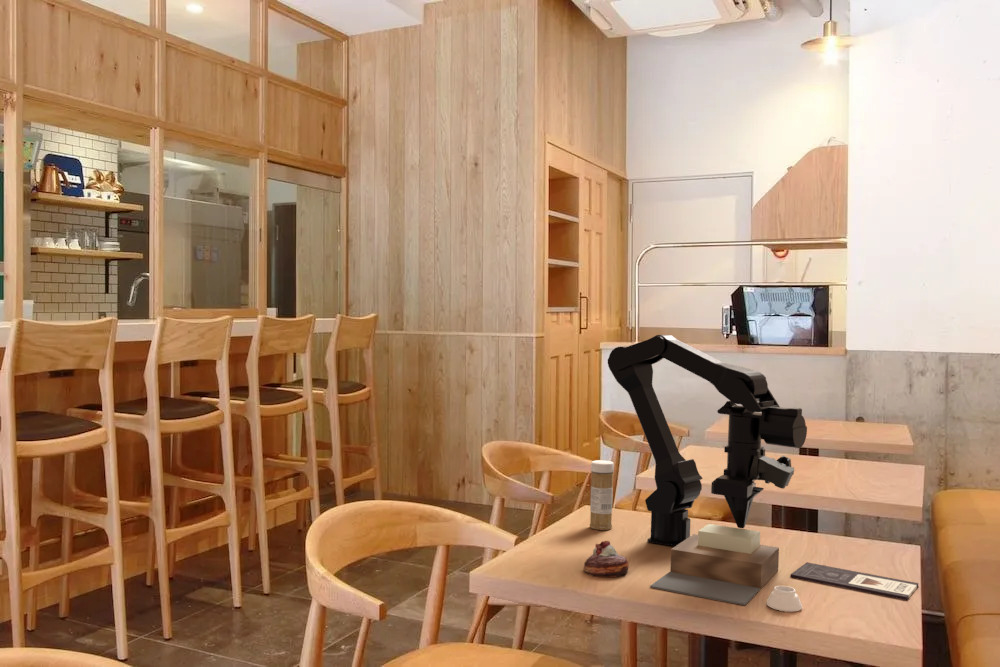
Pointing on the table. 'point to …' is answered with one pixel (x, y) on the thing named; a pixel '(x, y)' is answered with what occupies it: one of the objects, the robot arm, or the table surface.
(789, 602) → the lidless jar
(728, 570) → the wooden block
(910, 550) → the table surface
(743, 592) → the mat
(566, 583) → the table surface
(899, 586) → the chocolate bar
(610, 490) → the sprinkles bottle
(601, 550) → the pastry
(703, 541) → the cream block
